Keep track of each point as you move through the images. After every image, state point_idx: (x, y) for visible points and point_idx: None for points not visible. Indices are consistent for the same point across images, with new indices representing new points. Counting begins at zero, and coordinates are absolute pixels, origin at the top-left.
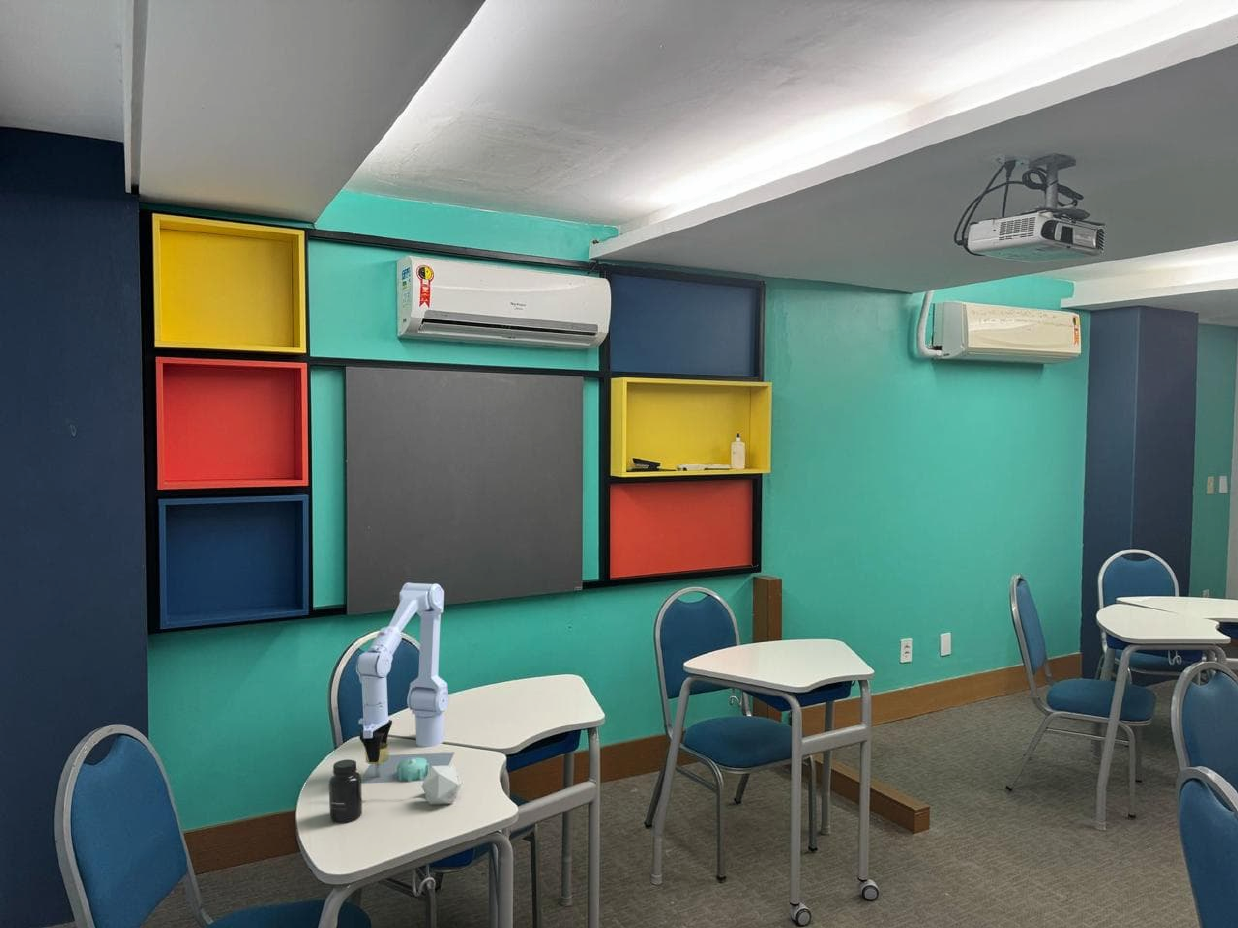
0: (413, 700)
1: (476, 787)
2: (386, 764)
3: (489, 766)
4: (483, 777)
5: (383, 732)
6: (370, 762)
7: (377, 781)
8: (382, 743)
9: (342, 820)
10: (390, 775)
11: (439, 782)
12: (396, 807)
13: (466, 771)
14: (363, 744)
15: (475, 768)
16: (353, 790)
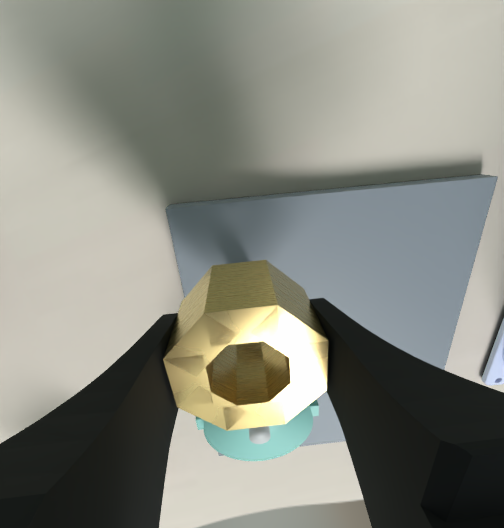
0: None
1: (207, 502)
2: (367, 262)
3: (329, 495)
4: (264, 500)
5: (364, 467)
6: (180, 308)
7: (193, 287)
8: (311, 386)
9: None
10: None
11: None
12: (44, 390)
13: (303, 466)
14: (46, 415)
15: (320, 477)
16: None
